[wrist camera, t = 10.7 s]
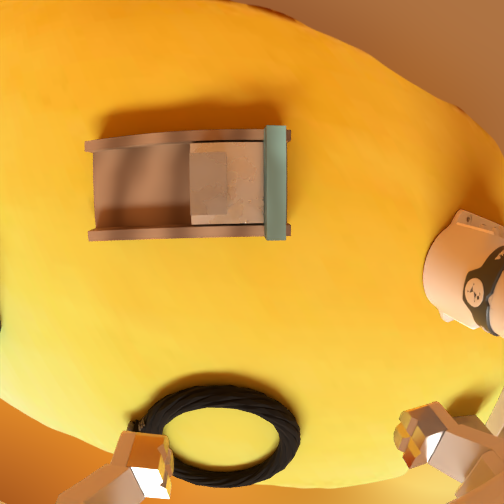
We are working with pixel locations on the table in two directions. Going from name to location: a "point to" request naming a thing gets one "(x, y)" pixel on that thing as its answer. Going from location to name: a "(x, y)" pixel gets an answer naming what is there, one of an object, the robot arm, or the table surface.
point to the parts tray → (497, 418)
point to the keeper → (226, 182)
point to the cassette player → (472, 423)
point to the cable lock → (235, 400)
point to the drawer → (177, 185)
